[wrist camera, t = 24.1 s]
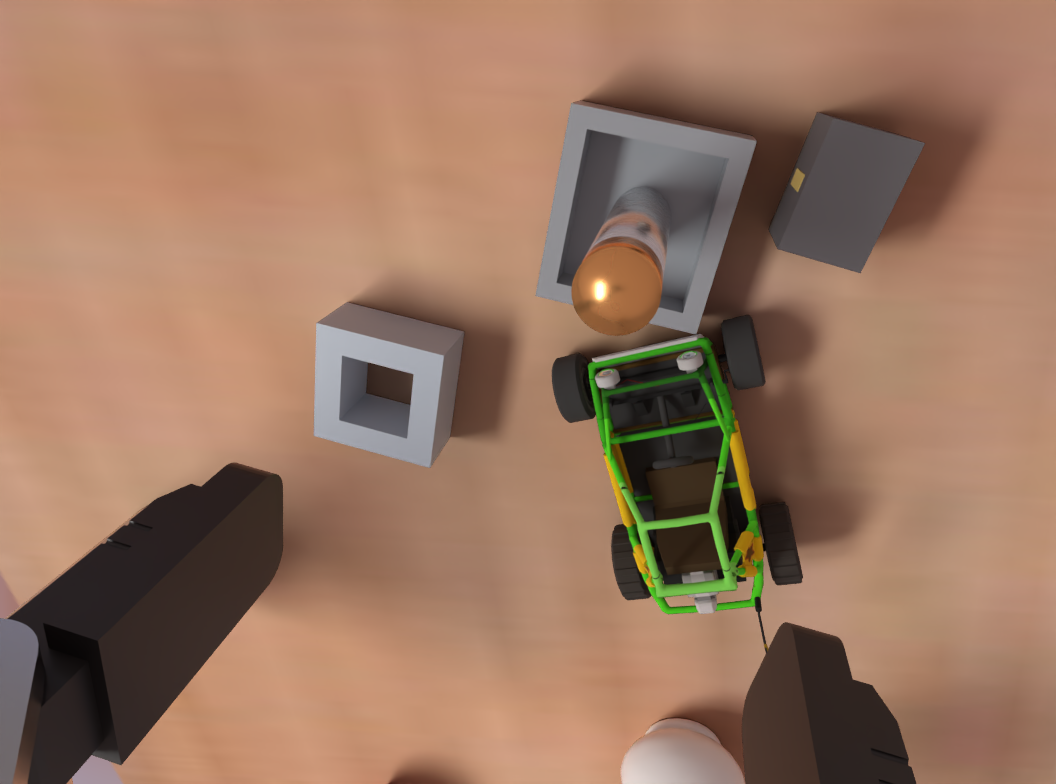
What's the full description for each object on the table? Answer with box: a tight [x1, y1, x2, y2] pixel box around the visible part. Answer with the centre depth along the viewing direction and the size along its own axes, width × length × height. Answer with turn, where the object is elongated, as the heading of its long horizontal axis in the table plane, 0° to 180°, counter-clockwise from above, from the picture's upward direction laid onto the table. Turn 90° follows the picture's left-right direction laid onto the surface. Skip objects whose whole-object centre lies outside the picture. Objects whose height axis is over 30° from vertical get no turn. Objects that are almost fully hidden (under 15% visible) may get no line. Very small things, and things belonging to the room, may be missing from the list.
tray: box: [536, 100, 757, 334], centre depth 36 cm, size 10×9×3 cm
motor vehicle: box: [552, 315, 803, 653], centre depth 39 cm, size 12×19×11 cm, turn 19°
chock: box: [769, 112, 925, 273], centre depth 32 cm, size 4×6×4 cm
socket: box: [314, 302, 464, 468], centre depth 43 cm, size 8×8×4 cm
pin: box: [571, 187, 671, 336], centre depth 30 cm, size 3×3×14 cm
